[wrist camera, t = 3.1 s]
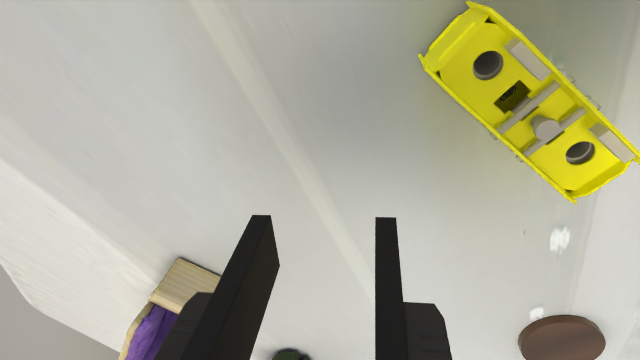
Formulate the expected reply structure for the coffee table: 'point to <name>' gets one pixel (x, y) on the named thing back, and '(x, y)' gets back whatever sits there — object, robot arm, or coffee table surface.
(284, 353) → the character mug
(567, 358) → the walnut coaster
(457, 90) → the yellow toy chassis
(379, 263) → the robot arm
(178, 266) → the toy sofa
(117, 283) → the coffee table surface
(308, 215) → the coffee table surface
